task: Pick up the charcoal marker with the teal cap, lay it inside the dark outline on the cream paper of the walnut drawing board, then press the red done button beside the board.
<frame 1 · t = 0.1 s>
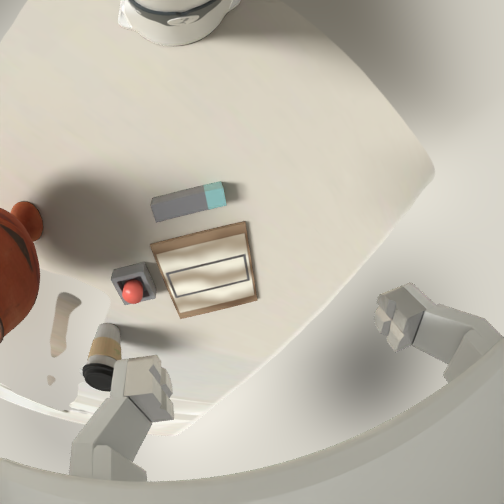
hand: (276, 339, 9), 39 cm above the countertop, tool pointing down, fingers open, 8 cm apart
coffee cup: (108, 330, 58), on the countertop
marker: (188, 197, 45), on the countertop
button housing: (134, 279, 52), on the countertop
done button: (132, 291, 49), point 4 cm above the countertop, slide at 0.0 cm
drawing board: (208, 274, 55), on the countertop
goblet: (27, 222, 39), on the countertop
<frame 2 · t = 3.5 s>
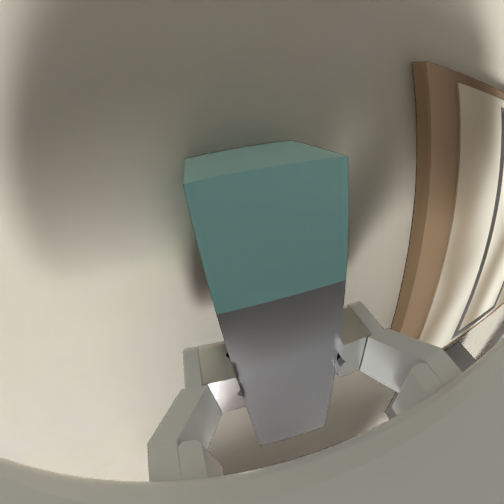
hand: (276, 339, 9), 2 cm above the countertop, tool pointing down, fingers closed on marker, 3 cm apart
marker: (263, 308, 10), on the countertop, touching gripper
button housing: (422, 379, 20), on the countertop
drawing board: (498, 228, 13), on the countertop
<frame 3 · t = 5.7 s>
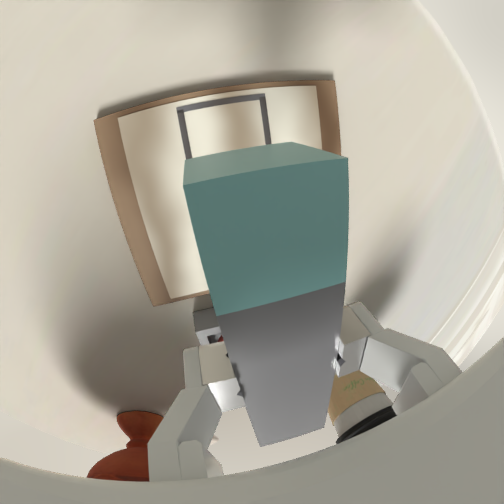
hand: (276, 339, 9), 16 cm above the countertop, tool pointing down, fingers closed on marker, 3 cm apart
coffee cup: (329, 358, 39), on the countertop
marker: (263, 309, 10), point 15 cm above the countertop, touching gripper
button housing: (231, 327, 30), on the countertop
done button: (238, 351, 27), point 4 cm above the countertop, slide at 0.0 cm
drawing board: (234, 192, 23), on the countertop
goblet: (143, 420, 36), on the countertop
when the fingers open (4 cm above the countertop, at t = 8.4 s): marker drops 1 cm, resting on drawing board.
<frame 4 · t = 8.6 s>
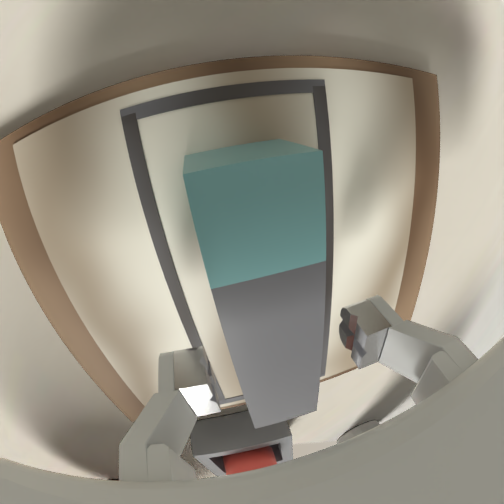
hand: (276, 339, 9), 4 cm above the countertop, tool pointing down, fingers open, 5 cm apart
coffee cup: (356, 431, 27), on the countertop
marker: (256, 293, 11), point 1 cm above the countertop, touching drawing board
button housing: (241, 430, 19), on the countertop
done button: (251, 467, 16), point 4 cm above the countertop, slide at 0.0 cm
drawing board: (252, 280, 12), on the countertop
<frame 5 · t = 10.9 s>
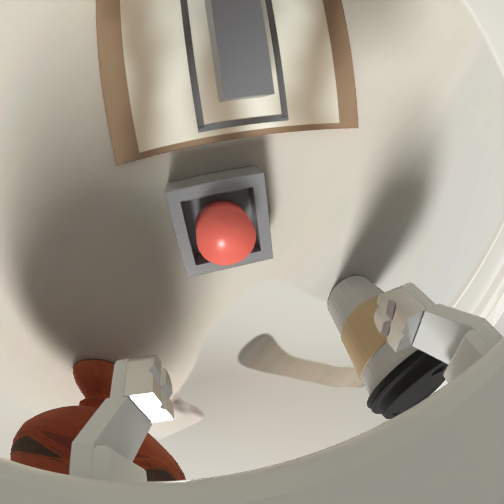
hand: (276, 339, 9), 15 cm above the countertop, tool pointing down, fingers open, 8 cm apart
coffee cup: (347, 295, 31), on the countertop
marker: (230, 28, 15), point 1 cm above the countertop, touching drawing board
button housing: (218, 213, 22), on the countertop
done button: (224, 231, 19), point 4 cm above the countertop, slide at 0.0 cm
drawing board: (229, 32, 16), on the countertop
goblet: (105, 377, 29), on the countertop
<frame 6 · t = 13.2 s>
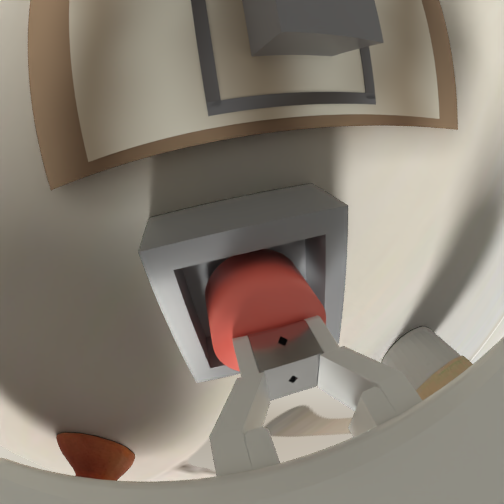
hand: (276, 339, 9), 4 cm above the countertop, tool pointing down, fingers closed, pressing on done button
coffee cup: (403, 349, 21), on the countertop
button housing: (245, 270, 13), on the countertop
done button: (262, 312, 10), point 3 cm above the countertop, slide at 0.6 cm, touching gripper
goblet: (97, 447, 19), on the countertop
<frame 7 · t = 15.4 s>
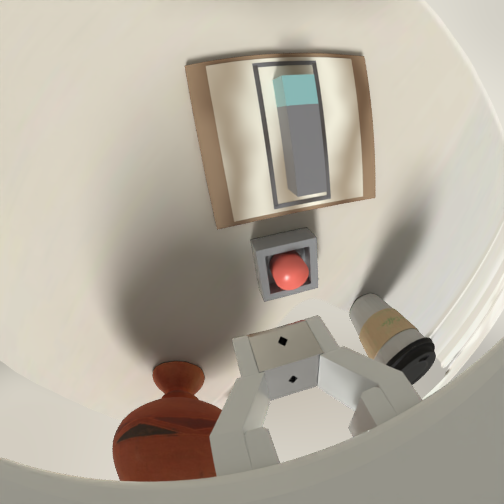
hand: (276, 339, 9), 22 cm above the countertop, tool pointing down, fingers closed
coffee cup: (363, 307, 42), on the countertop
marker: (295, 133, 26), point 1 cm above the countertop, touching drawing board
button housing: (282, 258, 34), on the countertop
done button: (288, 269, 32), point 3 cm above the countertop, slide at 1.0 cm
drawing board: (293, 132, 27), on the countertop
goblet: (179, 375, 41), on the countertop
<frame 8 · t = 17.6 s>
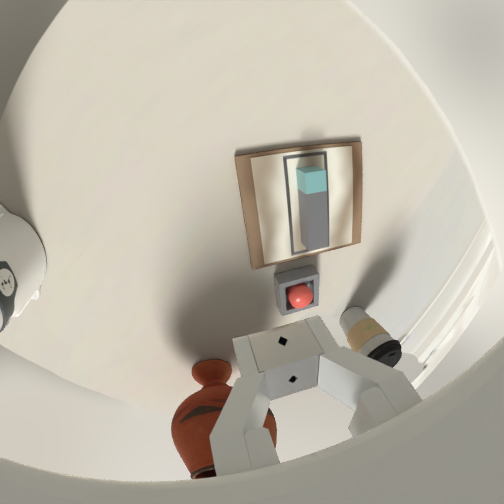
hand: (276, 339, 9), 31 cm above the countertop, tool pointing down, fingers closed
coffee cup: (350, 316, 57), on the countertop
marker: (308, 205, 41), point 1 cm above the countertop, touching drawing board
button housing: (294, 285, 49), on the countertop
done button: (299, 294, 46), point 3 cm above the countertop, slide at 1.0 cm
drawing board: (306, 203, 42), on the countertop
goblet: (212, 370, 55), on the countertop
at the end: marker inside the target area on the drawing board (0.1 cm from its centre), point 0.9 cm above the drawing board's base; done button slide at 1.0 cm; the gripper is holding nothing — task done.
